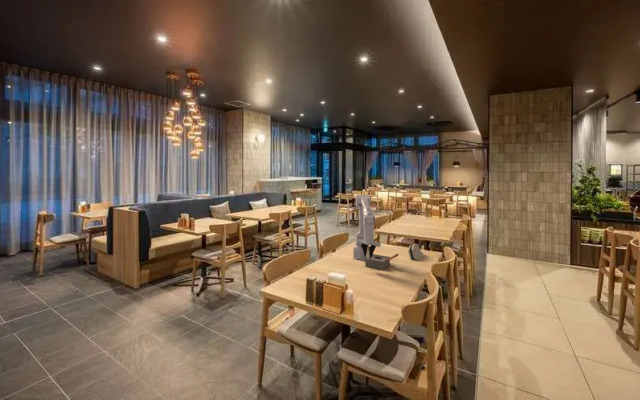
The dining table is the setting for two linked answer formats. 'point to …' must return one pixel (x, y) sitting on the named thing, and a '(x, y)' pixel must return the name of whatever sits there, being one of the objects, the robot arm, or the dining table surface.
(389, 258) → the bar
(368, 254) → the pin
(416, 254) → the hinge
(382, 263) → the pin block
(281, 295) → the dining table surface
